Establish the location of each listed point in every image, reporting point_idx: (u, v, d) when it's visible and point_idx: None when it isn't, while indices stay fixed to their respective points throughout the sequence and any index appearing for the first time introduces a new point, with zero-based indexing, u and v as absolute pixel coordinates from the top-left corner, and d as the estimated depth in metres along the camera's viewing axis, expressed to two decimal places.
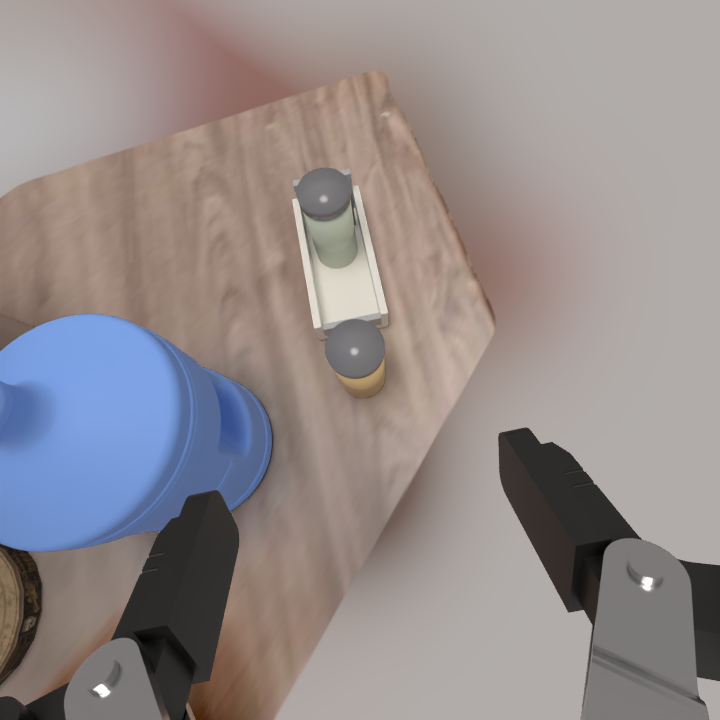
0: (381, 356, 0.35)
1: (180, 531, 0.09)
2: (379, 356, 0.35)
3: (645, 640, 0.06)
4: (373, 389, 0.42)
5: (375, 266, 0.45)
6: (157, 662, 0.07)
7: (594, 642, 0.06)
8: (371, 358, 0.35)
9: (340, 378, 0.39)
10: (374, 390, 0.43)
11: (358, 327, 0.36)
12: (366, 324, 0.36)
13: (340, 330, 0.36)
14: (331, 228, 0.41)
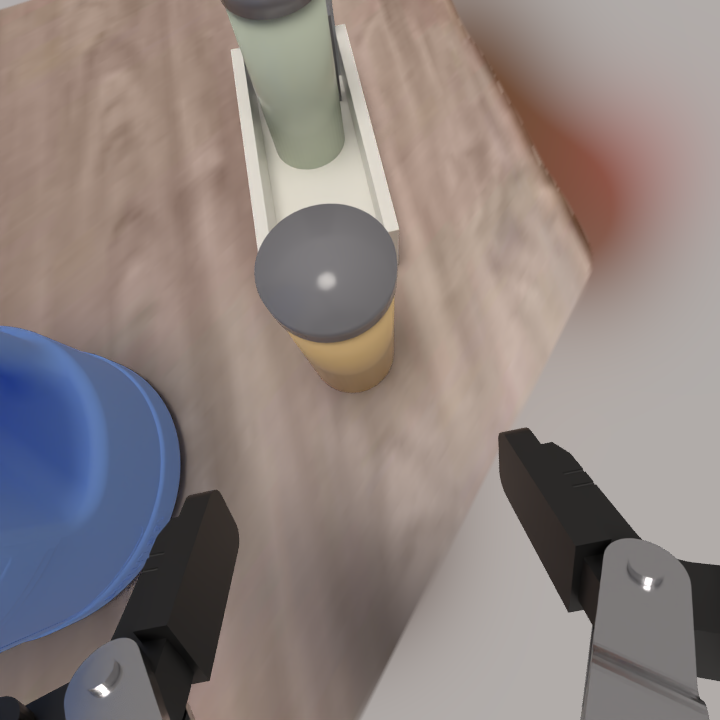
0: (390, 285, 0.14)
1: (180, 531, 0.09)
2: (385, 285, 0.14)
3: (645, 640, 0.06)
4: (371, 374, 0.22)
5: (375, 150, 0.25)
6: (157, 663, 0.07)
7: (594, 642, 0.06)
8: (365, 290, 0.14)
9: (301, 348, 0.18)
10: (373, 376, 0.22)
11: (335, 221, 0.15)
12: (353, 214, 0.15)
13: (292, 229, 0.15)
14: (286, 50, 0.21)
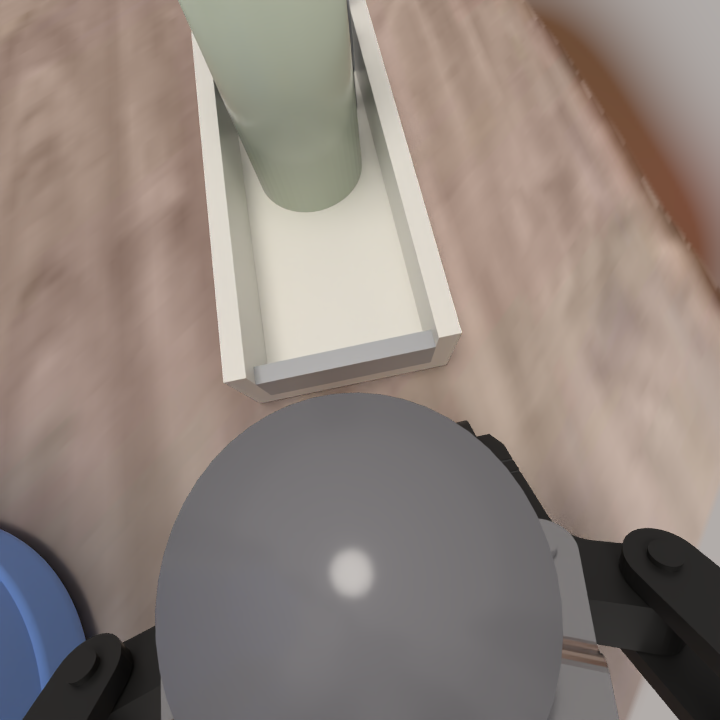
0: (547, 684, 0.05)
1: None
2: (532, 685, 0.05)
3: None
4: None
5: (415, 192, 0.15)
6: None
7: None
8: (474, 699, 0.05)
9: None
10: None
11: (376, 449, 0.06)
12: (426, 430, 0.06)
13: (264, 466, 0.06)
14: (267, 22, 0.11)
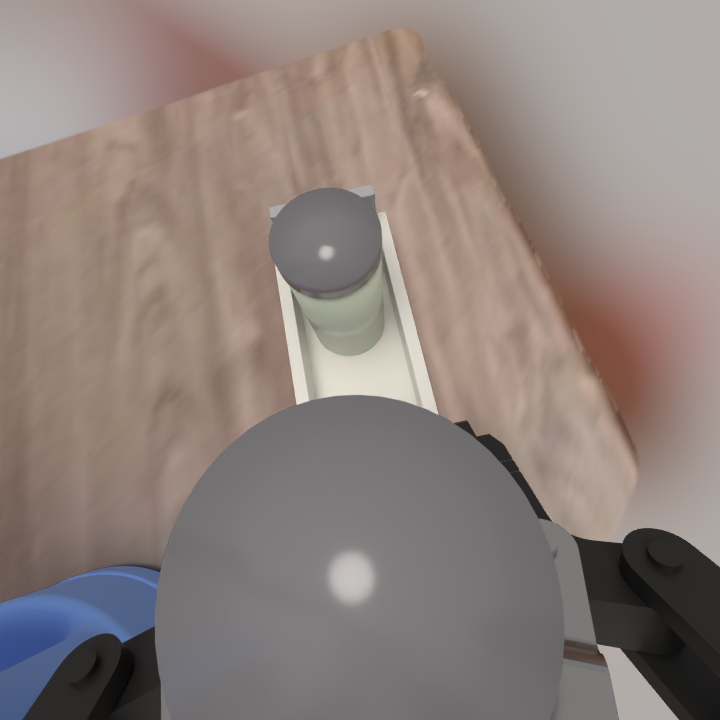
0: (548, 688, 0.05)
1: None
2: (534, 689, 0.05)
3: None
4: None
5: (422, 364, 0.25)
6: None
7: None
8: (475, 703, 0.05)
9: None
10: None
11: (376, 451, 0.06)
12: (426, 432, 0.06)
13: (264, 469, 0.06)
14: (342, 308, 0.21)
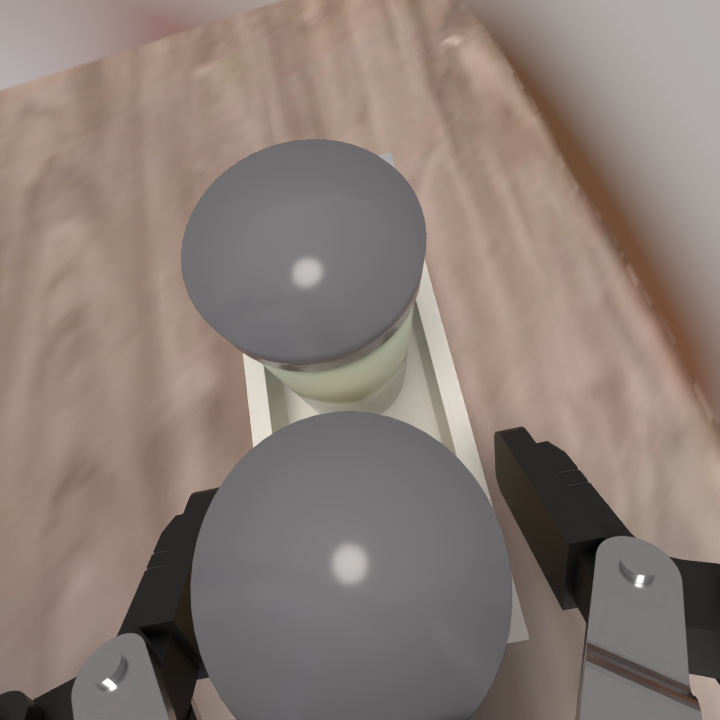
0: (498, 645, 0.06)
1: (184, 528, 0.10)
2: (487, 645, 0.06)
3: (636, 636, 0.06)
4: None
5: (473, 455, 0.15)
6: (163, 658, 0.07)
7: (588, 640, 0.06)
8: (441, 655, 0.06)
9: None
10: None
11: (367, 457, 0.07)
12: (407, 442, 0.07)
13: (277, 471, 0.07)
14: (339, 381, 0.10)
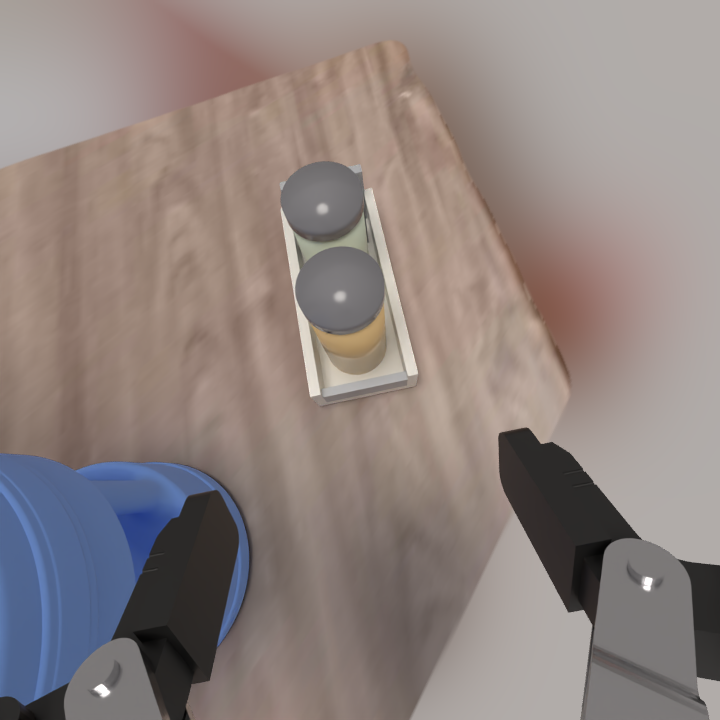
0: (379, 299, 0.23)
1: (180, 531, 0.09)
2: (376, 299, 0.23)
3: (645, 640, 0.06)
4: (369, 360, 0.30)
5: (398, 303, 0.32)
6: (157, 662, 0.07)
7: (594, 642, 0.06)
8: (364, 302, 0.23)
9: (321, 339, 0.27)
10: (371, 362, 0.31)
11: (345, 258, 0.24)
12: (357, 253, 0.24)
13: (319, 262, 0.24)
14: None
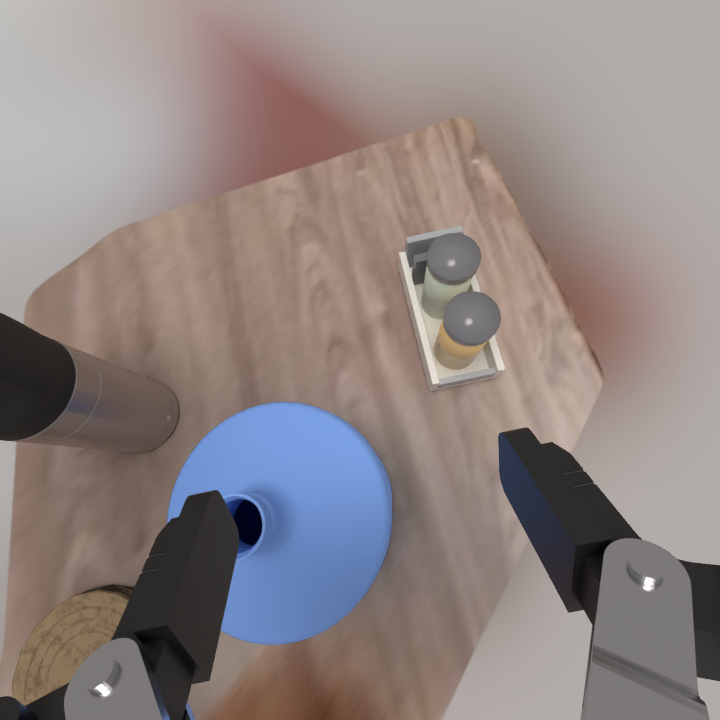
0: (498, 324, 0.38)
1: (180, 531, 0.09)
2: (496, 324, 0.38)
3: (645, 640, 0.06)
4: (471, 360, 0.45)
5: None
6: (157, 663, 0.07)
7: (594, 642, 0.06)
8: (489, 326, 0.38)
9: (449, 348, 0.42)
10: (471, 361, 0.46)
11: (474, 298, 0.39)
12: (481, 295, 0.39)
13: (457, 301, 0.39)
14: (456, 290, 0.42)
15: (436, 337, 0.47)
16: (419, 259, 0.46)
